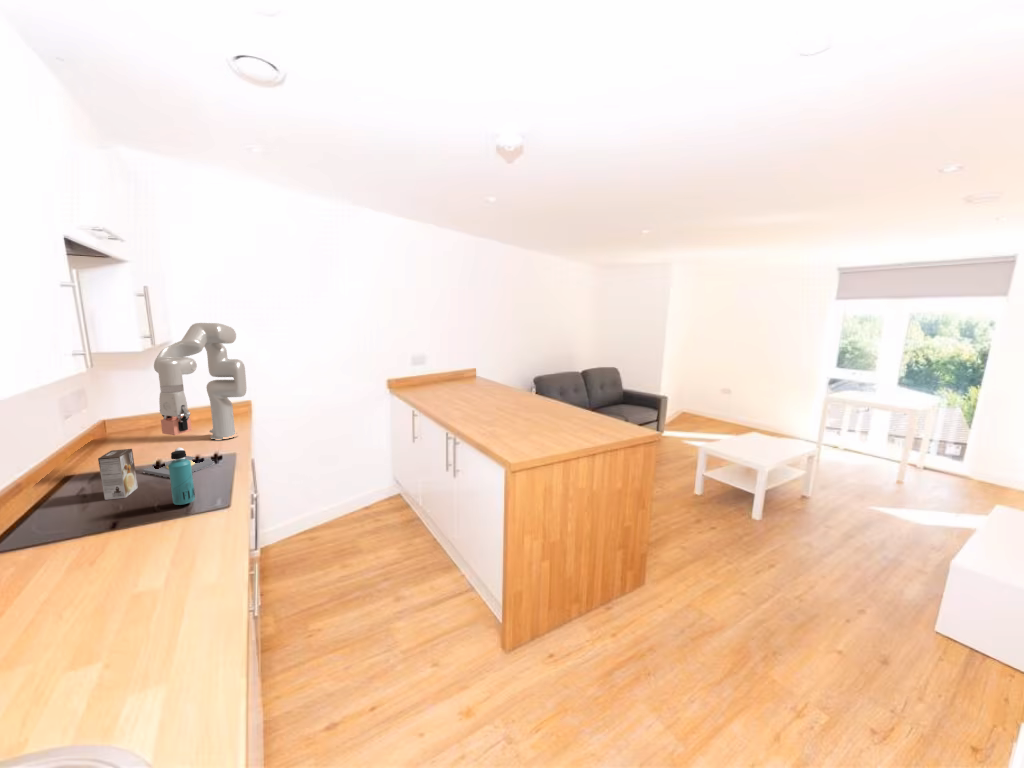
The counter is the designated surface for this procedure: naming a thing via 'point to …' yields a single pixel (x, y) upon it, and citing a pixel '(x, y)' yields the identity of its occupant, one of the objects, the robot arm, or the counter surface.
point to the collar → (173, 426)
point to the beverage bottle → (181, 479)
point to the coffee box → (118, 474)
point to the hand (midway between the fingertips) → (176, 429)
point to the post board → (166, 471)
